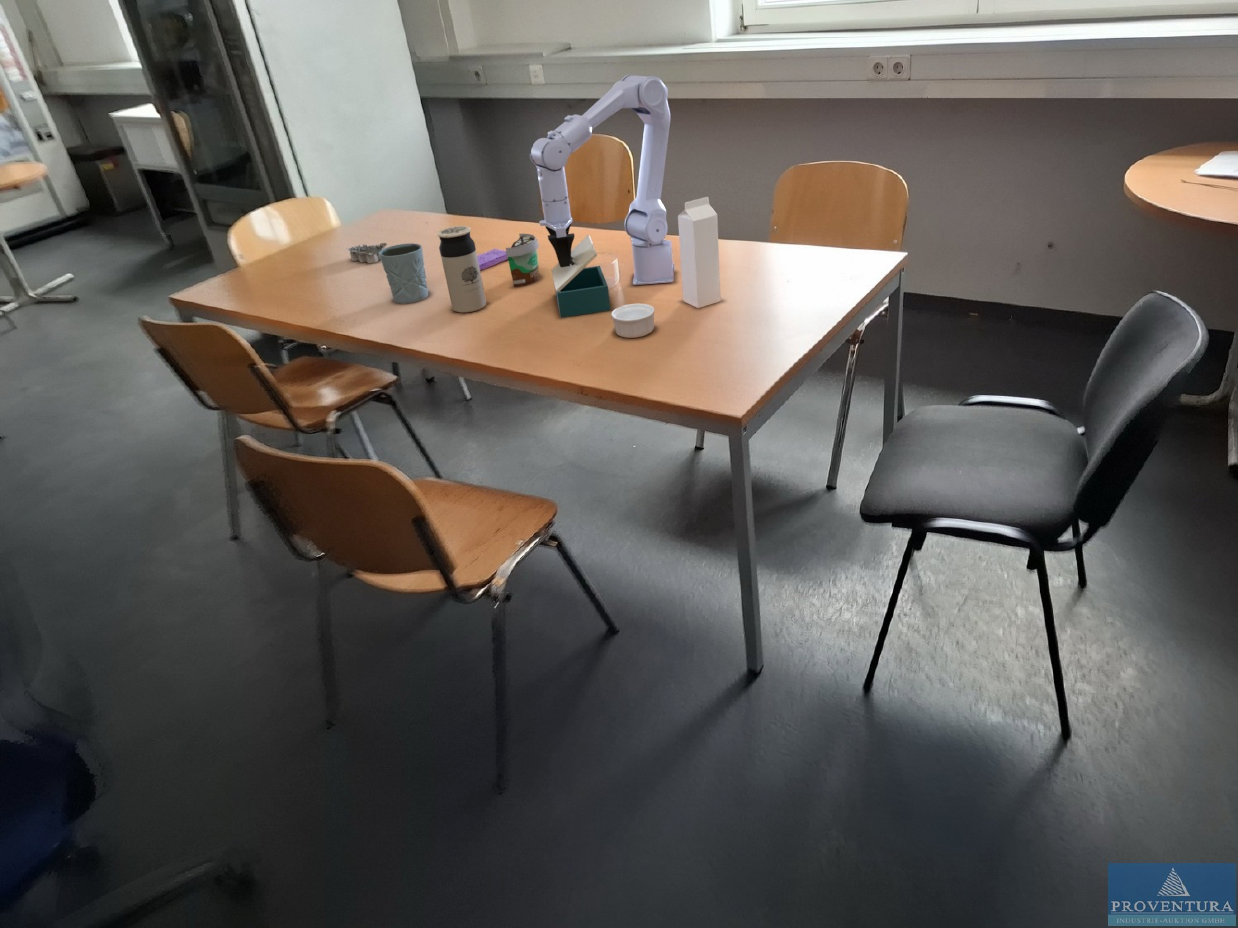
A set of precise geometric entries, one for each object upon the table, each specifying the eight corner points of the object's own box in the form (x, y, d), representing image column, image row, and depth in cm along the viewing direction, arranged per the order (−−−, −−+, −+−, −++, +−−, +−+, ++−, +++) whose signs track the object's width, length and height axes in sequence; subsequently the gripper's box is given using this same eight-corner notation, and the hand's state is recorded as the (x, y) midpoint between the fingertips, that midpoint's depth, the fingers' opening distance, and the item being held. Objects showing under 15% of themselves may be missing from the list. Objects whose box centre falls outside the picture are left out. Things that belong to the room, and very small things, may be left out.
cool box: (602, 288, 193) (600, 265, 190) (610, 310, 181) (607, 286, 178) (556, 295, 192) (552, 272, 189) (560, 317, 180) (557, 293, 177)
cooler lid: (590, 236, 186) (578, 224, 185) (597, 255, 174) (585, 242, 172) (553, 271, 189) (541, 260, 188) (558, 292, 177) (545, 280, 175)
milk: (720, 301, 178) (717, 199, 167) (697, 309, 176) (693, 205, 164) (704, 294, 183) (700, 194, 171) (682, 301, 181) (676, 200, 169)
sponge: (512, 258, 220) (511, 251, 219) (475, 273, 213) (474, 266, 212) (496, 254, 225) (494, 248, 224) (459, 268, 218) (457, 261, 217)
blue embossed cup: (383, 304, 200) (370, 256, 194) (405, 289, 208) (394, 242, 202) (418, 305, 196) (406, 256, 190) (440, 290, 204) (429, 242, 198)
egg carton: (391, 257, 234) (388, 242, 232) (370, 265, 229) (366, 251, 227) (369, 252, 240) (365, 238, 238) (347, 260, 235) (343, 246, 233)
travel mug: (449, 306, 194) (432, 230, 184) (481, 298, 196) (466, 223, 187) (457, 316, 187) (440, 238, 178) (490, 308, 190) (475, 230, 180)
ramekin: (623, 343, 165) (621, 323, 162) (606, 329, 172) (604, 310, 169) (663, 332, 167) (661, 312, 165) (644, 319, 174) (643, 299, 172)
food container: (536, 288, 198) (529, 247, 193) (512, 289, 199) (505, 248, 194) (549, 271, 208) (543, 231, 203) (526, 271, 210) (519, 233, 204)
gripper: (534, 193, 180) (544, 254, 187) (538, 209, 167) (548, 274, 175) (566, 189, 180) (574, 249, 187) (572, 204, 168) (580, 269, 175)
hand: (563, 261), depth 181 cm, fingers open, 7 cm apart
